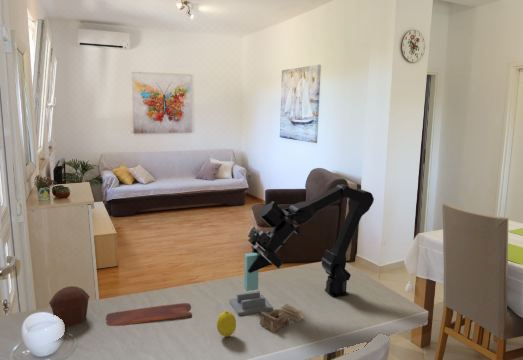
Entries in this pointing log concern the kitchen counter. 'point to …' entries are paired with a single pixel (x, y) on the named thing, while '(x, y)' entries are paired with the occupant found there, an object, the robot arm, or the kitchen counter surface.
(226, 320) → the lemon
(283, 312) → the offcut stack
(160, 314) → the wooden tablet
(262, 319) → the stand
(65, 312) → the muffin
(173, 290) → the kitchen counter surface
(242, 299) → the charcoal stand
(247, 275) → the teal rectangular block
